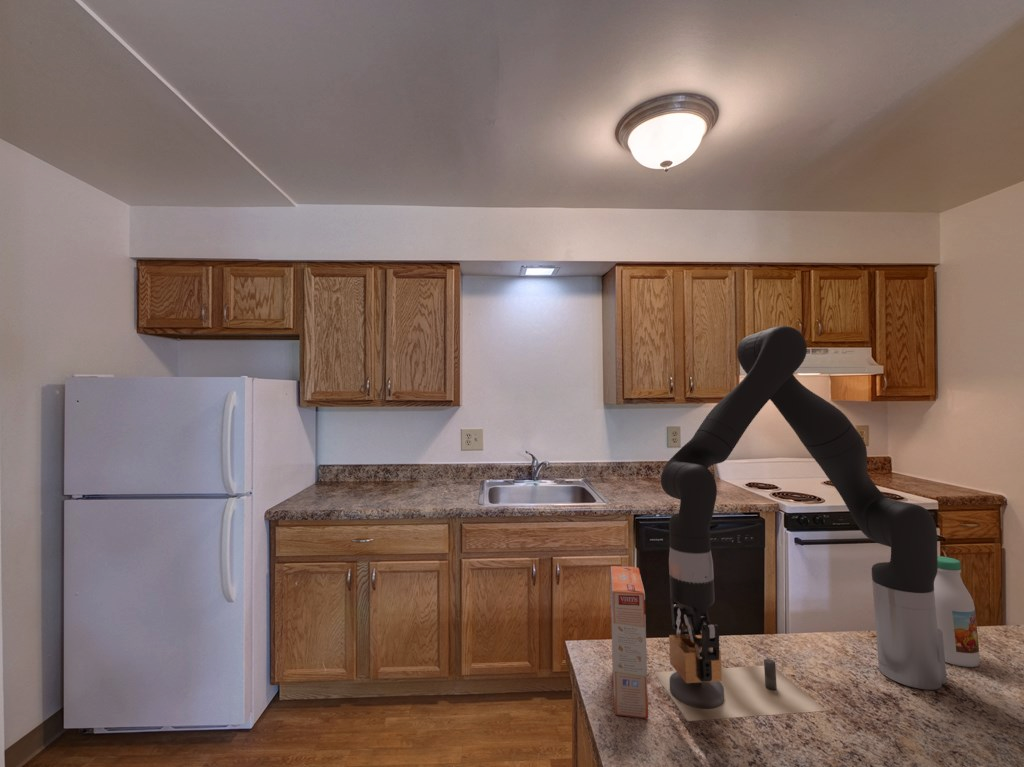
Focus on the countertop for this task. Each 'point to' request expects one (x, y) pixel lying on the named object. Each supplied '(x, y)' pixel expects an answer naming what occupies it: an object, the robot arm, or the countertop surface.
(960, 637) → the milk bottle
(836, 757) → the countertop surface
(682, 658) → the hollow wooden cube
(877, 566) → the robot arm
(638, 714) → the cracker box
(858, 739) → the countertop surface
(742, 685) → the board
